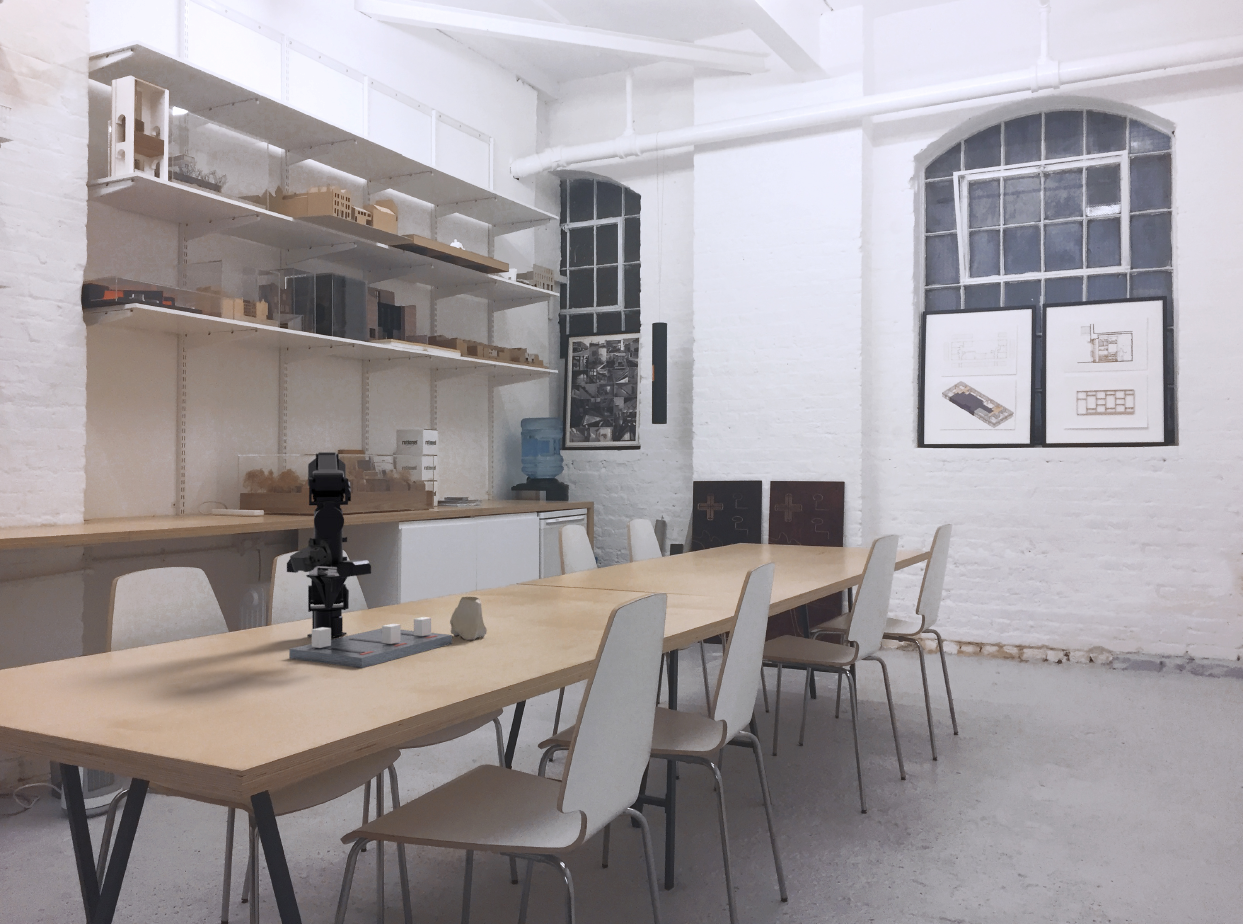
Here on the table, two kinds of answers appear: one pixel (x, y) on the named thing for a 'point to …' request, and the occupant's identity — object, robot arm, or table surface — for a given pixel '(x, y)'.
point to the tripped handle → (321, 637)
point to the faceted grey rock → (468, 619)
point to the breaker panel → (369, 648)
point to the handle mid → (391, 633)
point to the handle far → (422, 626)
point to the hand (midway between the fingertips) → (328, 608)
